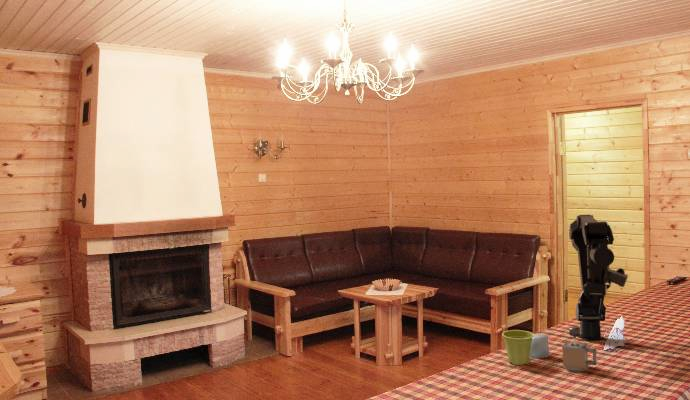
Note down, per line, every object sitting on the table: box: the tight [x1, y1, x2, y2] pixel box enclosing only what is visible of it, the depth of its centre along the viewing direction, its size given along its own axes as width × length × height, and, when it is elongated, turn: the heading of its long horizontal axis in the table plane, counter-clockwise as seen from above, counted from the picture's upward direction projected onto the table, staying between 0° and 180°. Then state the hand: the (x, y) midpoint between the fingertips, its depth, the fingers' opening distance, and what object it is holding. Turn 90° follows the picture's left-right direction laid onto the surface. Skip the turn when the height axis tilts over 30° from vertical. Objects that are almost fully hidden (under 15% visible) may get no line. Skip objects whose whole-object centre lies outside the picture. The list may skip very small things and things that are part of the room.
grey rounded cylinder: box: [530, 333, 550, 359], centre depth 185 cm, size 6×6×6 cm
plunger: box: [568, 326, 581, 346], centre depth 172 cm, size 3×3×9 cm
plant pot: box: [501, 329, 535, 366], centre depth 180 cm, size 9×9×9 cm
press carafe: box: [561, 340, 598, 373], centre depth 171 cm, size 7×9×7 cm
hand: (598, 310), depth 185 cm, fingers open, 9 cm apart
